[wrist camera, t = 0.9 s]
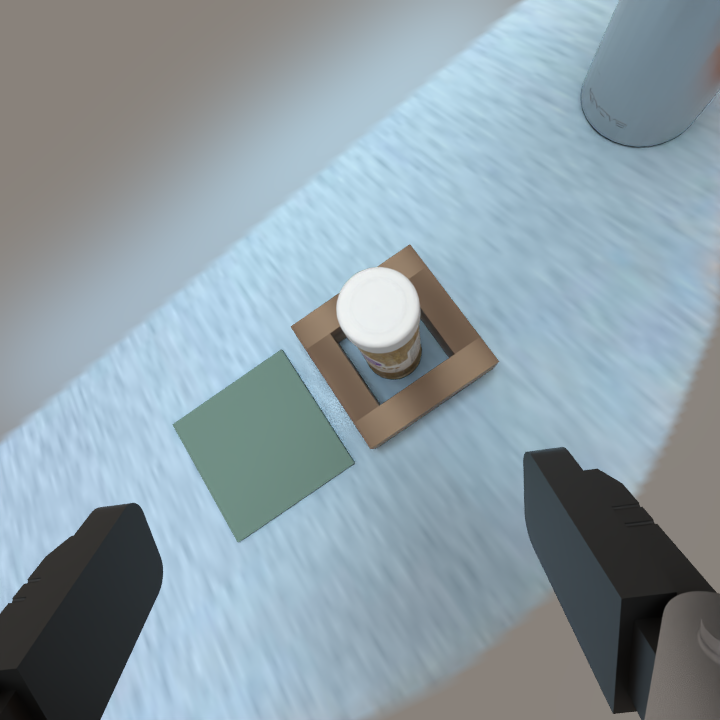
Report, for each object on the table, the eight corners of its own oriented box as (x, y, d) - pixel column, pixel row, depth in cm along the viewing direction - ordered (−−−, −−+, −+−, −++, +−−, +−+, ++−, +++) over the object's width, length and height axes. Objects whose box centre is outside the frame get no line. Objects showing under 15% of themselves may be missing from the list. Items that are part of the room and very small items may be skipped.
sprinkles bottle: (358, 370, 39) (322, 333, 26) (376, 318, 39) (349, 255, 26) (413, 387, 38) (404, 358, 25) (430, 333, 38) (431, 276, 25)
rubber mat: (282, 350, 40) (281, 349, 39) (354, 463, 37) (354, 463, 37) (175, 424, 40) (172, 424, 40) (239, 541, 38) (237, 542, 37)
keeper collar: (411, 261, 40) (409, 244, 36) (492, 369, 37) (499, 361, 34) (302, 336, 40) (290, 326, 36) (375, 448, 37) (370, 449, 34)
